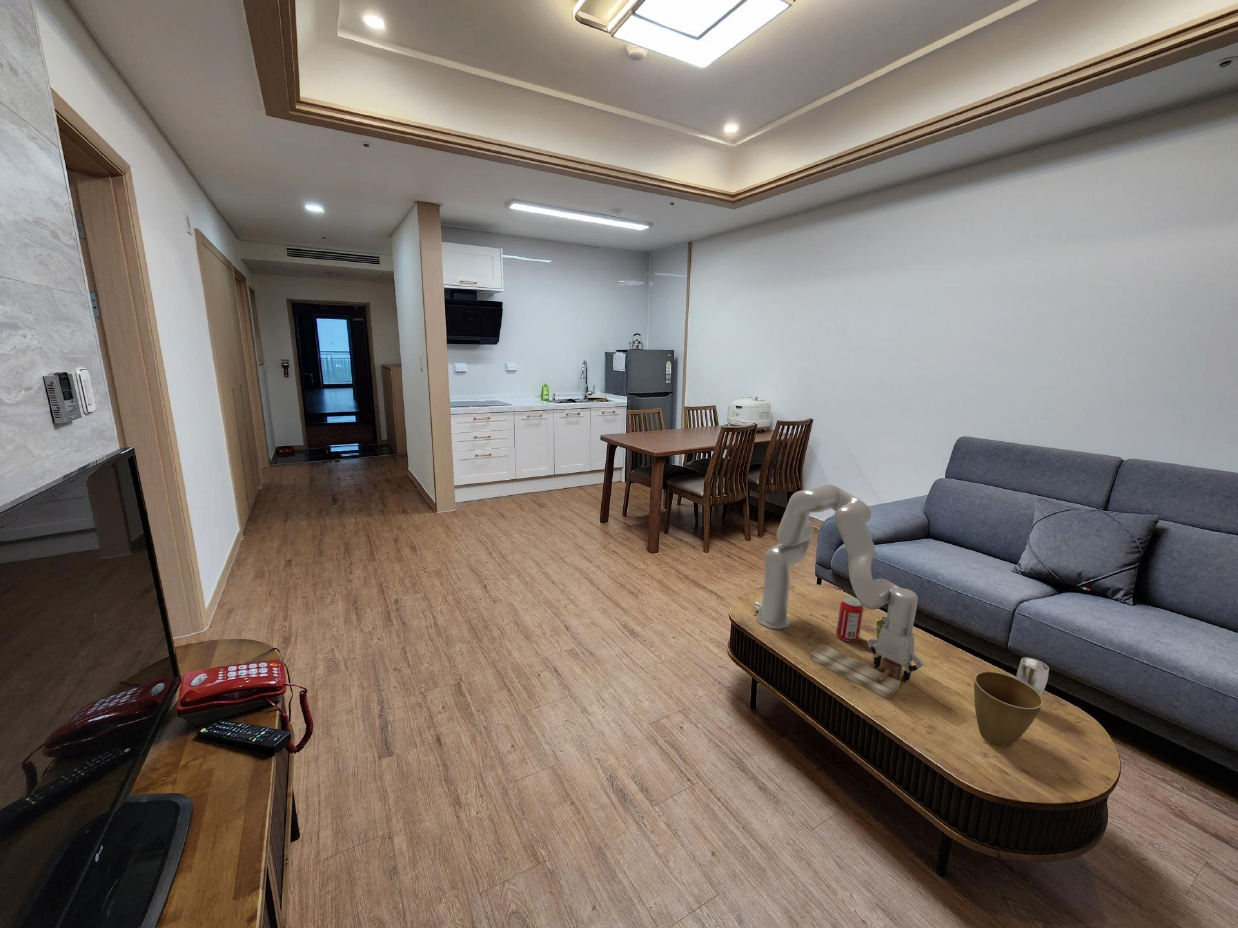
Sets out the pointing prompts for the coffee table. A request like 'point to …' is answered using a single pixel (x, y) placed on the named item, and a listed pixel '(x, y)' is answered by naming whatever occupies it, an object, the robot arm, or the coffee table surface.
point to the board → (855, 671)
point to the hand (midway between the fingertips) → (890, 673)
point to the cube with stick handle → (890, 670)
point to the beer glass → (1033, 673)
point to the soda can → (849, 619)
